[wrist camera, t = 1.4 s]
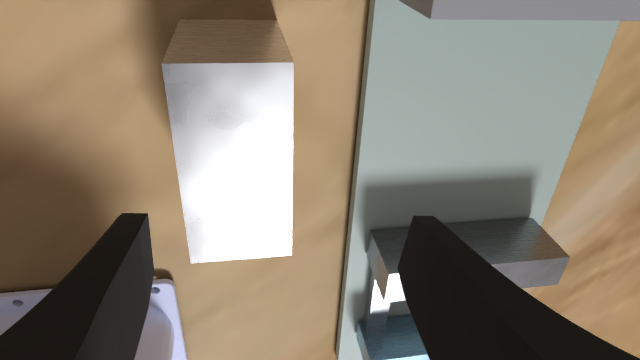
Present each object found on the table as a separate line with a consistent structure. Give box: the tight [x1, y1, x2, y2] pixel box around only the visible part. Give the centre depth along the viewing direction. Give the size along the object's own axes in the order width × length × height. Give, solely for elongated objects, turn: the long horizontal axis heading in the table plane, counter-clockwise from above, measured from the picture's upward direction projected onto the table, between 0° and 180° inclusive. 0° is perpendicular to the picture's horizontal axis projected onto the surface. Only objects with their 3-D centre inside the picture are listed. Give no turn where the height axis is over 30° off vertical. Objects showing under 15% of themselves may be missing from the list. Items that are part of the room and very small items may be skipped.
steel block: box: [161, 19, 294, 263], centre depth 18 cm, size 4×8×6 cm, turn 177°
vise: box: [336, 0, 640, 360], centre depth 24 cm, size 12×26×4 cm, turn 177°
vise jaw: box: [356, 218, 570, 360], centre depth 26 cm, size 10×9×4 cm
